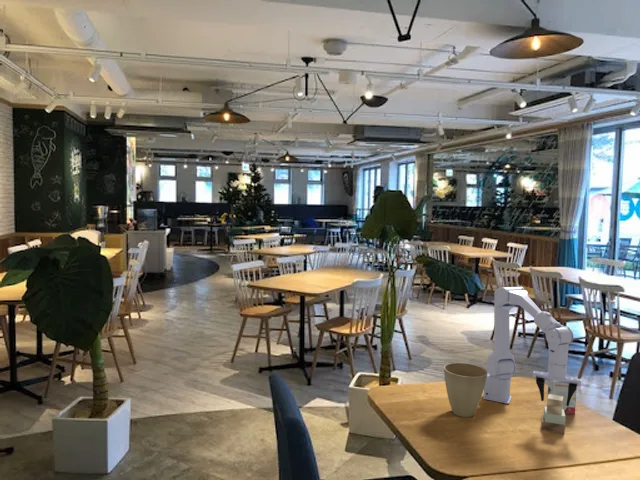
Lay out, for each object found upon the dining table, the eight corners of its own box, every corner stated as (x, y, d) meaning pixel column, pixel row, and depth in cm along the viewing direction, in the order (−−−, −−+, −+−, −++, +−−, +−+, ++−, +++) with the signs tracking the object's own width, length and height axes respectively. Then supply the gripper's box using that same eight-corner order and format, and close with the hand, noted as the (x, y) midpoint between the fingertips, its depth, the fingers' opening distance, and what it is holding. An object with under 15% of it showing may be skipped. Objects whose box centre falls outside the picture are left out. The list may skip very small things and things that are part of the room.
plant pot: (438, 417, 177) (440, 372, 176) (445, 401, 191) (447, 360, 190) (483, 425, 171) (486, 379, 170) (486, 409, 185) (489, 366, 184)
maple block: (546, 412, 170) (547, 398, 169) (547, 408, 174) (548, 393, 173) (561, 415, 168) (562, 401, 167) (562, 410, 172) (563, 396, 171)
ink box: (570, 409, 187) (572, 378, 186) (575, 414, 182) (577, 382, 181) (545, 407, 188) (548, 376, 187) (550, 413, 183) (552, 381, 182)
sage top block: (545, 421, 170) (545, 413, 169) (543, 414, 175) (544, 406, 175) (564, 425, 168) (565, 416, 167) (563, 417, 173) (563, 409, 173)
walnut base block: (541, 430, 170) (541, 421, 170) (542, 422, 176) (543, 413, 176) (564, 435, 167) (564, 426, 167) (565, 426, 173) (565, 418, 173)
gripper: (532, 362, 169) (530, 401, 170) (581, 370, 162) (578, 411, 163) (535, 356, 175) (532, 394, 176) (582, 364, 168) (579, 404, 170)
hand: (554, 402), depth 170 cm, fingers open, 7 cm apart
